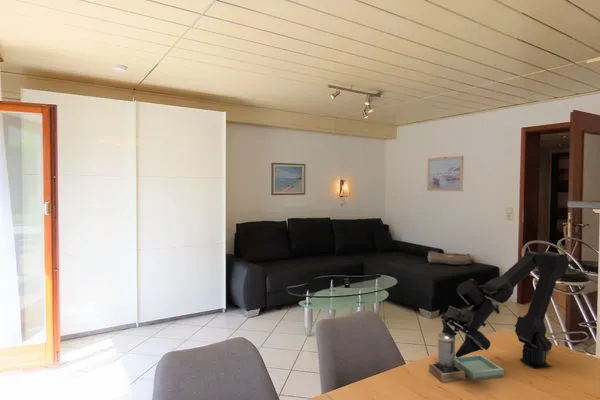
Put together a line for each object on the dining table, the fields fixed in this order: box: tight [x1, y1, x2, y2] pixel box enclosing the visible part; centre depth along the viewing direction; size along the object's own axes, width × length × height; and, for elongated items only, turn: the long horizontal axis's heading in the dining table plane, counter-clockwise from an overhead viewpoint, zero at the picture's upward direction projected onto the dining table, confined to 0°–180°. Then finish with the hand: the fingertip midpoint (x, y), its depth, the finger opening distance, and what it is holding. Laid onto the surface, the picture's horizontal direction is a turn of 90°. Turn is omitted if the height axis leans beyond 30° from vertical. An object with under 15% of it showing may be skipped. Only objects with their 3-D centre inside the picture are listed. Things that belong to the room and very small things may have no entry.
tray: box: [455, 353, 505, 382], centre depth 120 cm, size 11×11×2 cm
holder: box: [428, 361, 466, 384], centre depth 118 cm, size 8×8×2 cm
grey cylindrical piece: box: [437, 332, 456, 373], centre depth 118 cm, size 5×5×13 cm
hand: (447, 350), depth 118 cm, fingers open, 9 cm apart
